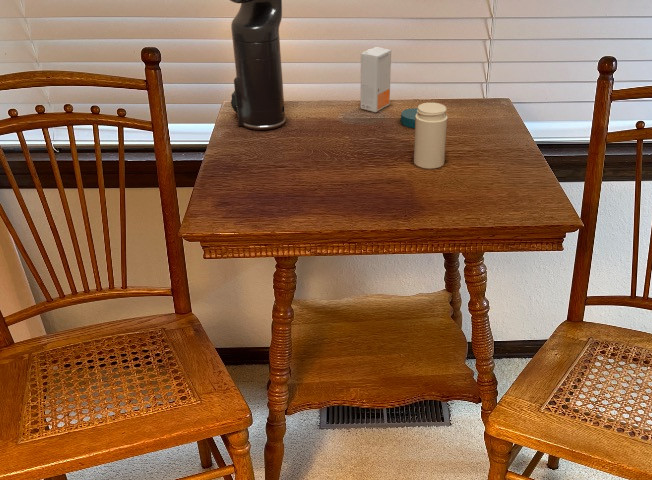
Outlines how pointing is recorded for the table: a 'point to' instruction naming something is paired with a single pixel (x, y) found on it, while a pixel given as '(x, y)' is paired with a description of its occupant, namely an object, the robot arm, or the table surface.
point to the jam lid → (409, 117)
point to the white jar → (430, 135)
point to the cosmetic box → (375, 78)
